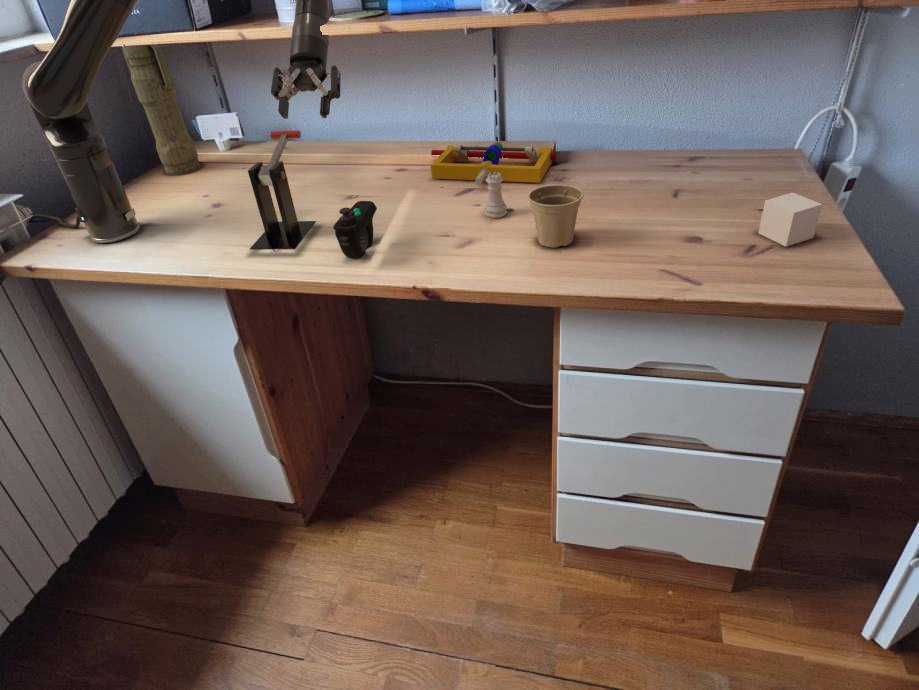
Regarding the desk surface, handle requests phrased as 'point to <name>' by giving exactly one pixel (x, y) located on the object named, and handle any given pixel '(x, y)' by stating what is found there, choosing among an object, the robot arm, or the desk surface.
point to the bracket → (276, 232)
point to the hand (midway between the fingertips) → (303, 116)
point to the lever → (276, 153)
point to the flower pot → (555, 213)
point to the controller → (355, 229)
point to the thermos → (161, 107)
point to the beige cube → (789, 219)
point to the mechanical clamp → (491, 163)
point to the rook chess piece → (495, 197)
